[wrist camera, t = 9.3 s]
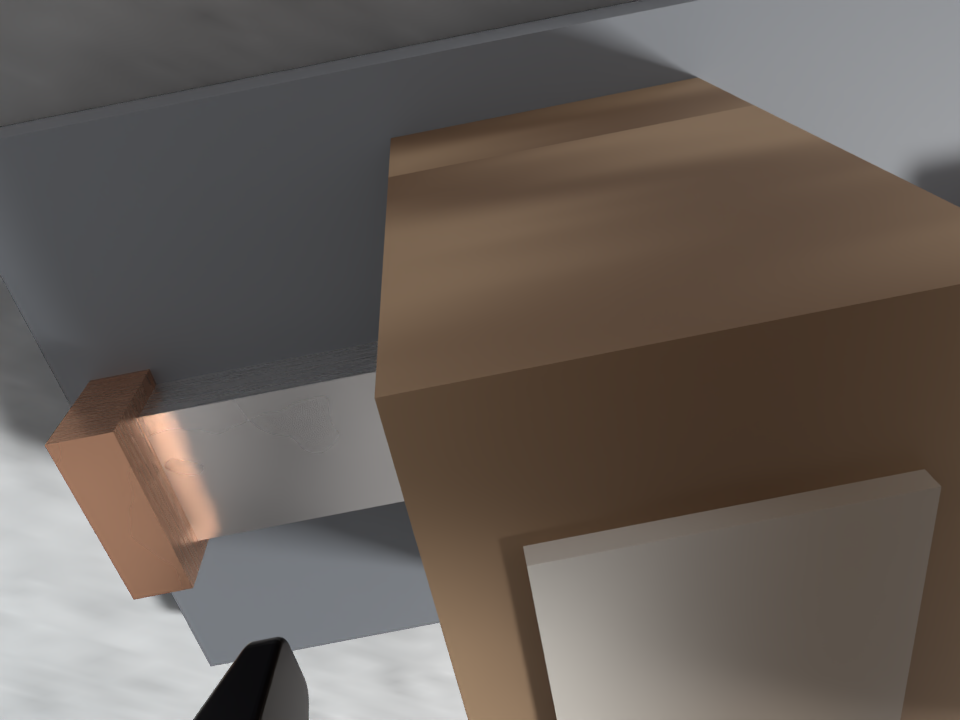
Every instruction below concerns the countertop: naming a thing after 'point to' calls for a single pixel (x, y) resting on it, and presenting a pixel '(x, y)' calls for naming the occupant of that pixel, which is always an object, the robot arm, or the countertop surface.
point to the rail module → (676, 413)
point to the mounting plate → (361, 226)
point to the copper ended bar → (222, 457)
